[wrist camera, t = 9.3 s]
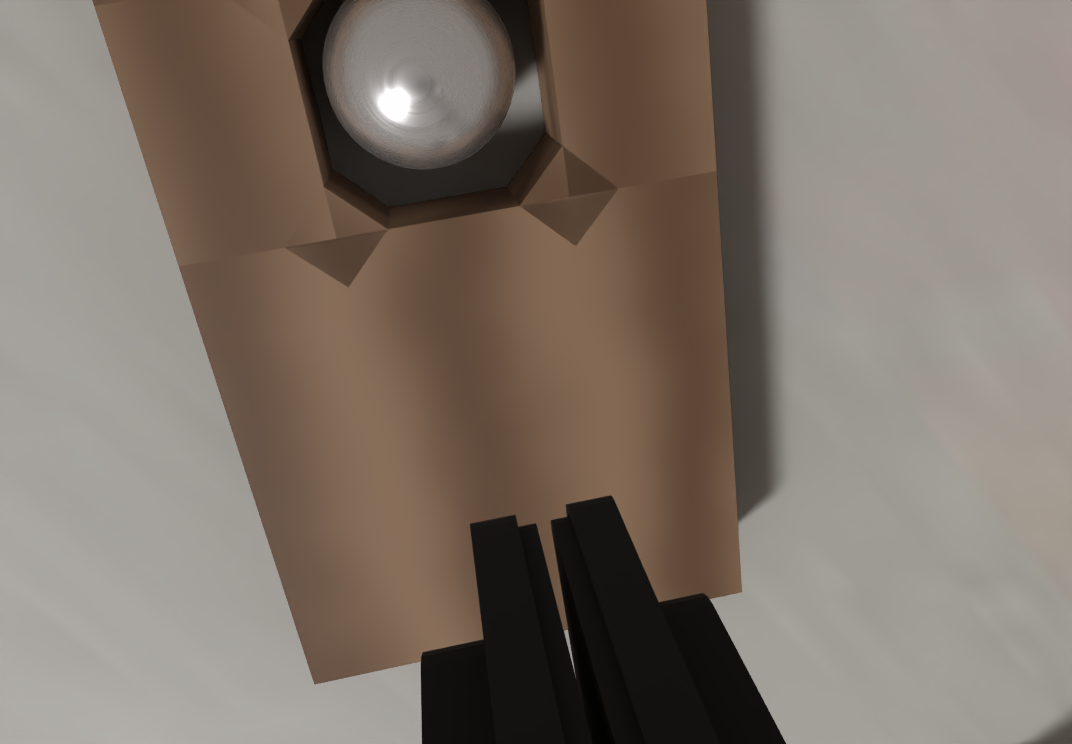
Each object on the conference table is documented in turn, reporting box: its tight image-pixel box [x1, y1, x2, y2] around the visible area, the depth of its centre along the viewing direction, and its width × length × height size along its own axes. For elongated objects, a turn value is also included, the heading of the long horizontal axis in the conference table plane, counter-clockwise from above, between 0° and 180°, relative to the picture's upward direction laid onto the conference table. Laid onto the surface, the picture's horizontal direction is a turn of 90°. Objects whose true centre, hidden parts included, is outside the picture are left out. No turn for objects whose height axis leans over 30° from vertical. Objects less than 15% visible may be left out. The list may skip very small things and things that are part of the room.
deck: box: [93, 0, 742, 684], centre depth 26 cm, size 15×24×3 cm, turn 8°
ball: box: [323, 0, 515, 169], centre depth 22 cm, size 5×5×5 cm
